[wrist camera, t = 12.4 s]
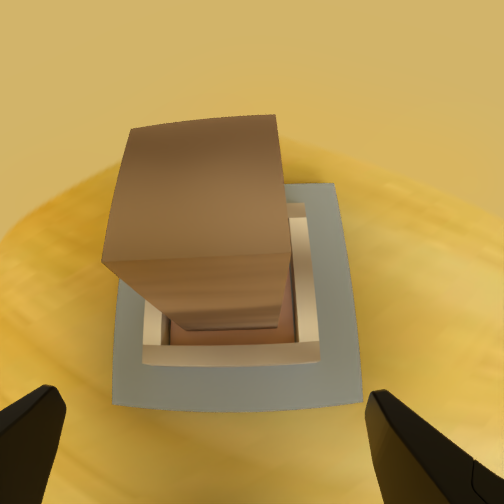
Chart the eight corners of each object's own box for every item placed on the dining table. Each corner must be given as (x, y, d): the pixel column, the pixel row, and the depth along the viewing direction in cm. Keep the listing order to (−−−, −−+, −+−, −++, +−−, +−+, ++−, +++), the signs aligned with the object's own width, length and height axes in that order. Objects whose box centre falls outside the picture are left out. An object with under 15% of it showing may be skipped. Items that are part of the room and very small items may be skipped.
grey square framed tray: (355, 401, 16) (371, 402, 14) (122, 404, 17) (100, 404, 14) (330, 195, 22) (337, 169, 19) (139, 205, 22) (124, 182, 20)
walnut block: (277, 328, 17) (291, 252, 8) (186, 331, 17) (101, 262, 8) (271, 244, 19) (275, 114, 10) (188, 249, 19) (130, 129, 10)
